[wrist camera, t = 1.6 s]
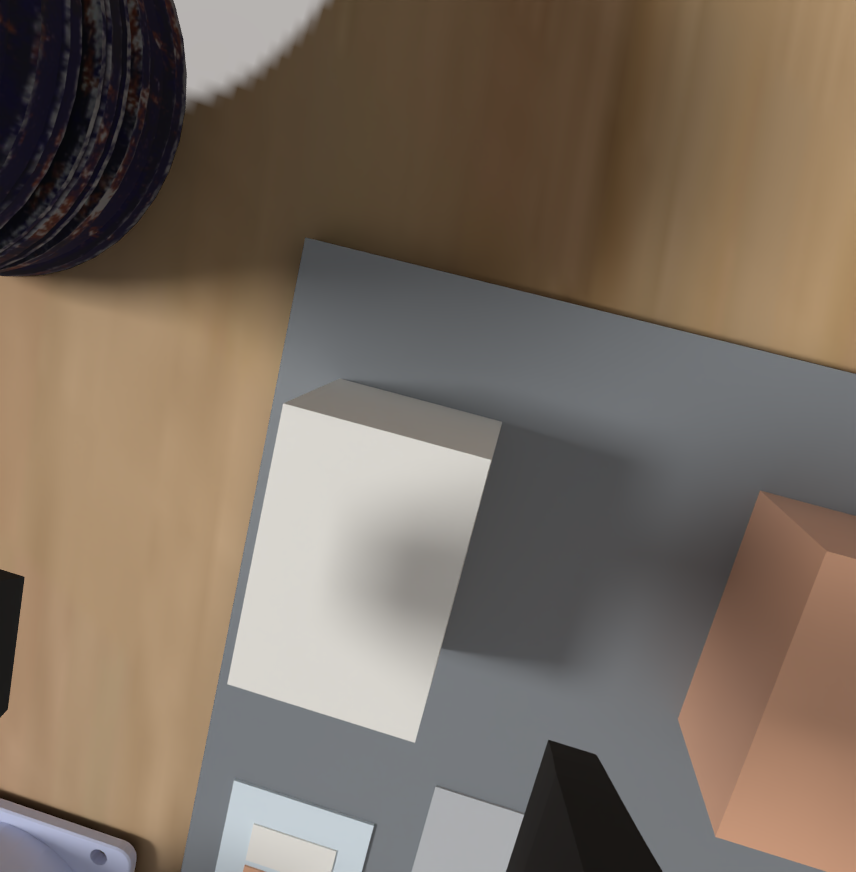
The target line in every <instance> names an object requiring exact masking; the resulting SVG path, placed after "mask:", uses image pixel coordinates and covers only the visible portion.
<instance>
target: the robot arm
mask: <svg viewBox="0 0 856 872" xmlns="http://www.w3.org/2000/svg"><path fill="white" fill-rule="evenodd" d="M23 585H24V577H23V576H20V575H17V574H13V573H10V572H7V571H4V570H1V569H0V717H1V716H2V715H3V714H4V713H5V712H6V711H7V709H8V703H9V695H10V687H11V679H12V671H13V664H14V656H15V648H16V640H17V632H18V624H19V616H20V609H21V601H22V593H23ZM100 850H101V851H103V852H104V853H105V854H103V853H101V852H100ZM136 860H137V856H136V852H135V849H134V847H133V846H132V845H131V844H130V843H129V842H127V841H125V840H122V839H119V838H116V837H114V836H111V835H108V834H105V833H102V832H99V831H96V830H93V829H90V828H87V827H84V826H81V825H78V824H75V823H72V822H69V821H66V820H63V819H60V818H57V817H55V816H52V815H49V814H46V813H43V812H40V811H37V810H34V809H31V808H28V807H25V806H22V805H19V804H16V803H13V802H10V801H7V800H4V799H1V798H0V872H134V871H135V865H136ZM506 872H663V871H662V869H661V868H660V866H659V864H658V863H657V861H656V859H655V858H654V856H653V854H652V853H651V851H650V849H649V848H648V846H647V844H646V842H645V841H644V839H643V837H642V835H641V834H640V832H639V830H638V828H637V827H636V825H635V823H634V821H633V819H632V818H631V816H630V814H629V812H628V811H627V809H626V807H625V805H624V803H623V801H622V800H621V798H620V796H619V794H618V792H617V791H616V789H615V787H614V785H613V783H612V781H611V780H610V778H609V776H608V774H607V772H606V771H605V769H604V767H603V765H602V763H601V762H600V760H599V758H598V756H597V755H596V754H593V753H590V752H587V751H584V750H580V749H577V748H574V747H571V746H567V745H564V744H561V743H558V742H555V741H551V740H548V742H547V745H546V748H545V751H544V755H543V758H542V761H541V764H540V767H539V770H538V773H537V776H536V779H535V783H534V786H533V789H532V792H531V795H530V798H529V801H528V804H527V808H526V811H525V814H524V817H523V820H522V823H521V826H520V829H519V832H518V836H517V839H516V842H515V845H514V848H513V851H512V854H511V857H510V860H509V864H508V867H507V870H506Z"/></svg>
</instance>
